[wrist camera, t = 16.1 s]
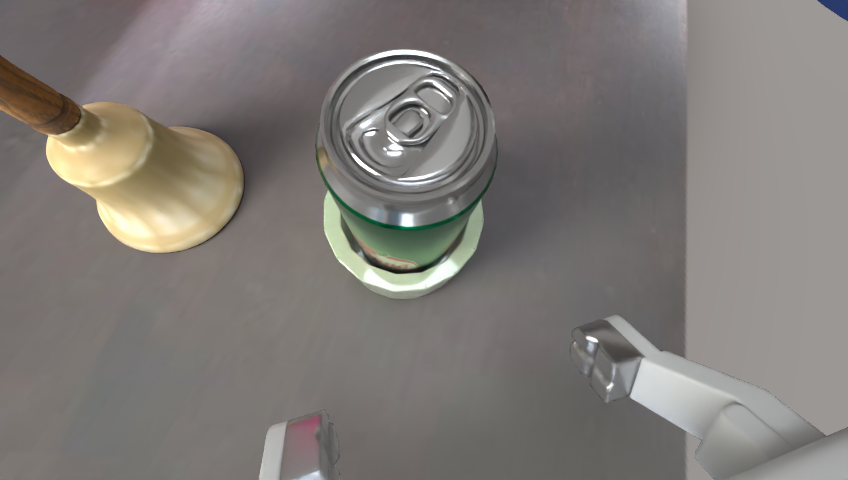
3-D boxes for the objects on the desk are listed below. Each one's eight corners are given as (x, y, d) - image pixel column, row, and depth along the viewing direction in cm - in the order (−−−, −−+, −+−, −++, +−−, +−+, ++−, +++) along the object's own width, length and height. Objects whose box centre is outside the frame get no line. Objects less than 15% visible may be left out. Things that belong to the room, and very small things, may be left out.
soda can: (345, 243, 19) (257, 120, 7) (401, 186, 20) (402, 3, 9) (407, 300, 18) (417, 262, 7) (462, 238, 20) (550, 116, 8)
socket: (457, 179, 21) (473, 137, 16) (470, 294, 19) (492, 284, 15) (341, 184, 21) (323, 142, 16) (343, 303, 19) (323, 296, 14)
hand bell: (262, 143, 21) (-120, -349, 6) (217, 265, 19) (-607, 7, 3) (137, 118, 21) (-608, -461, 5) (77, 237, 19) (-1437, -162, 3)
